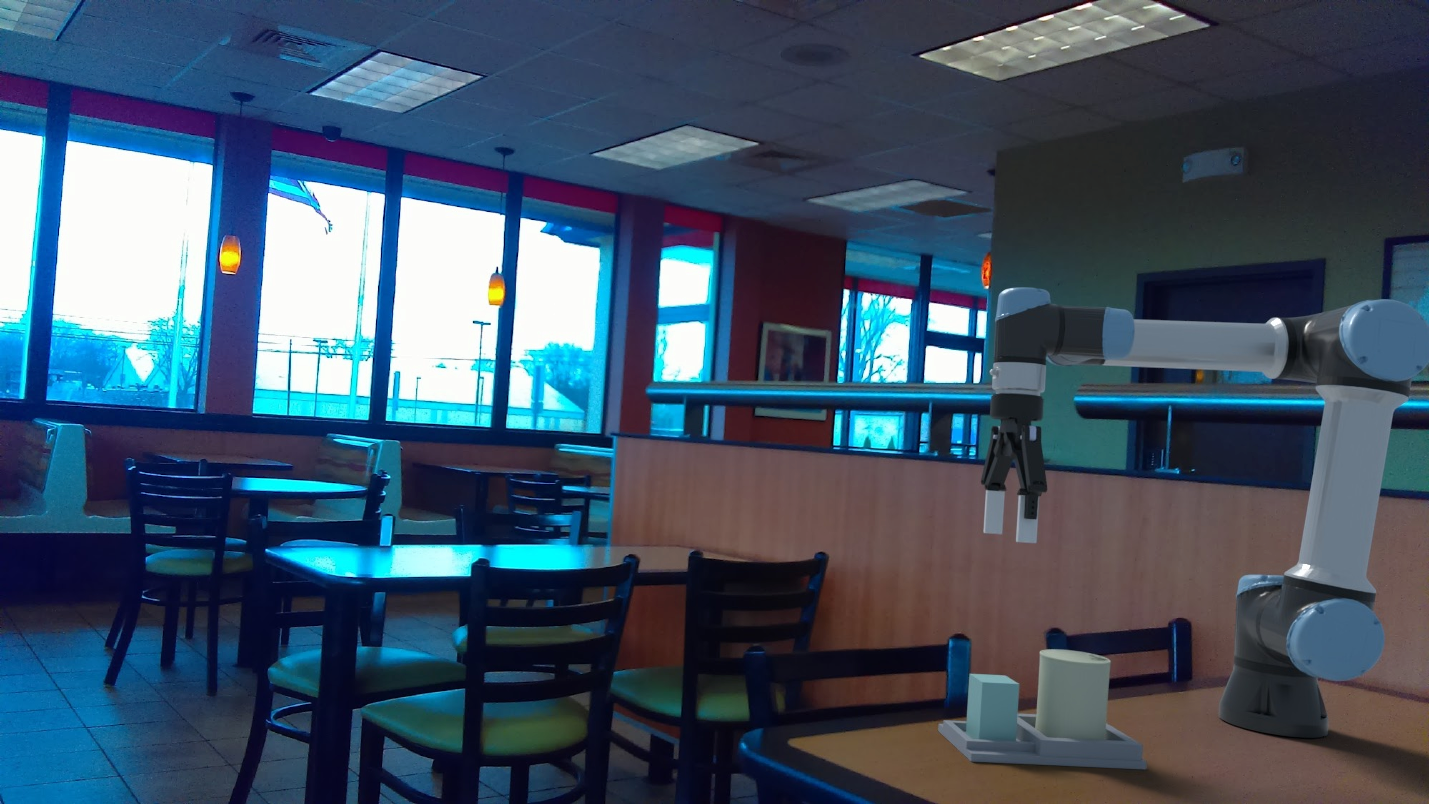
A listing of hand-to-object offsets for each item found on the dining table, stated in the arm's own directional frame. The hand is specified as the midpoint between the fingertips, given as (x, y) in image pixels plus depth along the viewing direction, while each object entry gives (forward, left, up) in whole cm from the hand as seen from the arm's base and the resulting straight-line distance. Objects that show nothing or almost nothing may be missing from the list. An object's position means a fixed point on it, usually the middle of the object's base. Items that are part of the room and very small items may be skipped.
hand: (1008, 538), depth 159 cm
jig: (0, +14, -27) cm, 30 cm away
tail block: (+6, +14, -26) cm, 30 cm away
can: (-5, +14, -26) cm, 30 cm away
